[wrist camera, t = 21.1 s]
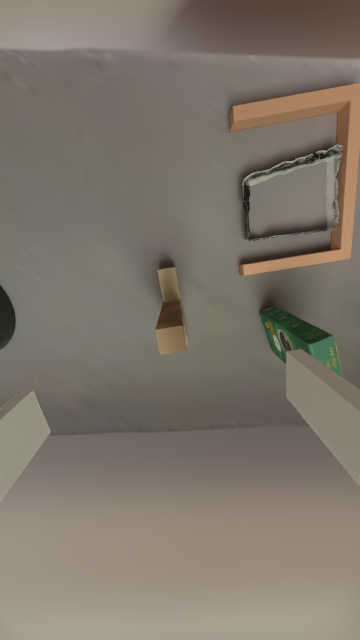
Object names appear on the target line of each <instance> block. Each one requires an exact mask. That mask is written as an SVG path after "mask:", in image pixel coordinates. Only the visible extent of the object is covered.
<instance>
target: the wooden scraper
mask: <svg viewBox="0 0 360 640" xmlns="http://www.w3.org/2000/svg"><path fill="white" fill-rule="evenodd" d="M157 271H158V276H159V282H160V287H161V292H162V298H163V306H162V309H161V313H160V316H159V319H158V322H157V326H156V329H155V331H156V336H157V341H158V346H159V351H160V355H162V354H169V353H176V352H182V351H187V348H186V346H187V339H186V333H185V326H184V320H183V314H182V307H181V301H180V295H179V288H178V282H177V276H176V269H175V267H171V268H164V269H159V270H157Z"/></svg>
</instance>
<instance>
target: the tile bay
mask: <svg viewBox="0 0 360 640" xmlns="http://www.w3.org/2000/svg"><path fill="white" fill-rule="evenodd" d="M337 112H338V119H337V138H336V145H340V146H341V145H342V146H343V149H342V150H341V151H340V153H342V155H341V157H340V158H339V160H340V164H339V171H338V172H337V173H336V174H337V175H336V177H335V178H336V179H337V181H338V195H337V199H336V200H337V202H338V210H339V214H340V215H339V217H338V223H337V227H340V228H336V229H334V230H332V231H331V250H329V251H323V252H316V253H310V254H304V255H298V256H292V257H285V258H279V259H273V260H267V261H261V262H254V263H248V264H242V265H239V271H240V275H243V276H245V275H251V274H257V273H264V272H270V271H276V270H282V269H289V268H295V267H301V266H308V265H314V264H320V263H326V262H333V261H339V260H345V259H351V247H352V234H353V222H354V210H355V197H356V185H357V173H358V160H359V148H360V83H357V84H351V85H346V86H340V87H335V88H329V89H324V90H318V91H313V92H307V93H302V94H297V95H291V96H286V97H280V98H275V99H269V100H264V101H258V102H253V103H247V104H242V105H236V106H233V107H232V110H231V113H230V116H229V128H230V132H231V131H237V130H242V129H248V128H254V127H259V126H265V125H270V124H276V123H281V122H287V121H293V120H298V119H304V118H309V117H315V116H320V115H326V114H332V113H337Z"/></svg>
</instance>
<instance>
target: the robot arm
mask: <svg viewBox="0 0 360 640" xmlns="http://www.w3.org/2000/svg"><path fill="white" fill-rule="evenodd" d="M14 329H15V315H14V310H13V307H12V304H11V302H10V300H9V298H8V297H7V295H6V293H5V292H4V291H3V289H2V288H1V287H0V349H2V348H3V347H4V346H6V345H7V343H8V342H9V341H10V339H11V338H12V335H13V333H14ZM286 397H287V399H288V400H289V401H290V402H291V403H292V405H293V406H294V407H295V408H296V410H297V411H298V412H299V413H300V414H301V416H302V417H303V418H304V419H305V421H306V422H307V423H308V424H309V425H310V427H311V428H312V429H313V430H314V432H316V434H317V435H318V436H319V438H320V439H321V440H322V441H323V443H324V444H325V445H326V446H327V447H328V448H329V450H330V451H331V452H332V453H333V455H334V456H335V457H336V458H337V460H338V461H339V462H340V463H341V465H342V466H343V467H344V468H345V469H346V471H347V472H348V473H349V474H350V475H351V477H352V478H353V479H354V480H355V482H356V483H357V484H358V485H359V487H360V390H359V389H358V388H356V387H355V386H353V385H352V384H351V383H349V382H348V381H346V380H345V379H343V378H342V377H341V376H339V375H338V374H336V373H335V372H333V371H332V370H331V369H329V368H328V367H326V366H325V365H323V364H322V363H321V362H319V361H318V360H316V359H315V358H313V357H312V356H311V355H309V354H308V353H306V352H305V351H303V350H302V349H299V350H292V351H286ZM50 432H51V431H50V429H49V426H48V424H47V422H46V419H45V417H44V415H43V412H42V410H41V408H40V405H39V403H38V401H37V398H36V396H35V394H34V391H33V390H30V391H23V392H18V393H17V394H16V395H15V396H13V397H12V398H11V399H10V400H9V401H7V402H6V403H5V404H4V405H3V406H2V407H0V502H1V500H2V499H3V498H4V496H5V495H6V493H7V492H8V491H9V489H10V488H11V486H12V485H13V484H14V482H15V481H16V480H17V478H18V477H19V475H20V474H21V472H22V471H23V470H24V469H25V467H26V466H27V464H28V463H29V461H30V460H31V459H32V457H33V456H34V454H35V453H36V452H37V450H38V449H39V448H40V446H41V445H42V443H43V442H44V441H45V439H46V438H47V437H48V435H49V434H50Z"/></svg>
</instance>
